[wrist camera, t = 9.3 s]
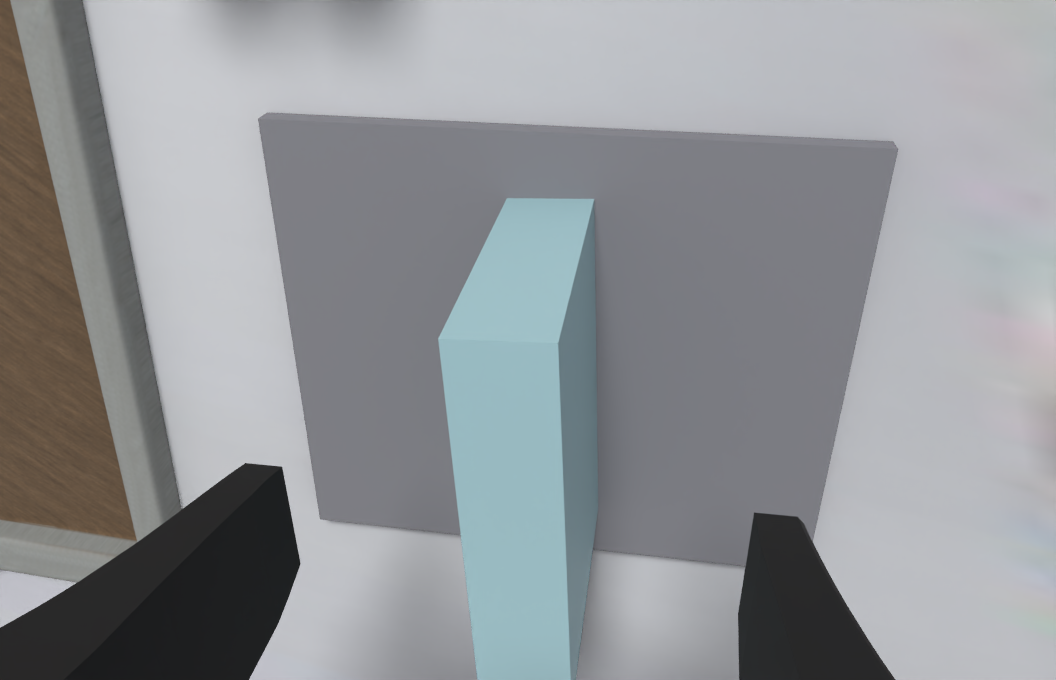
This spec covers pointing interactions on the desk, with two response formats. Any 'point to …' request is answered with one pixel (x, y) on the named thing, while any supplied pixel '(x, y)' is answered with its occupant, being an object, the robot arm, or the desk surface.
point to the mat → (621, 310)
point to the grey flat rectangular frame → (69, 316)
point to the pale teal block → (526, 436)
